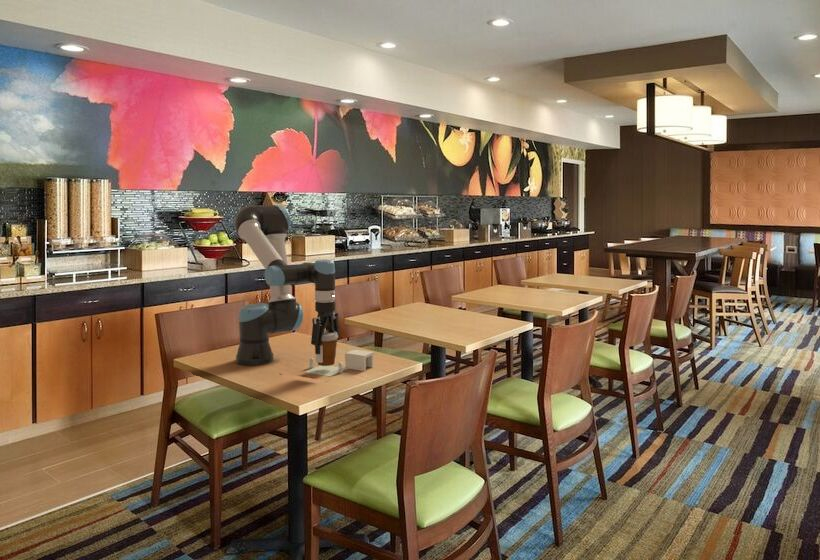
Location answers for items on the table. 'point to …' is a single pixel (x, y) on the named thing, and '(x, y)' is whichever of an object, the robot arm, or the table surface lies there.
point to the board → (325, 369)
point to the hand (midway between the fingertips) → (326, 359)
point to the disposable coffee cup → (329, 348)
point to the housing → (358, 360)
